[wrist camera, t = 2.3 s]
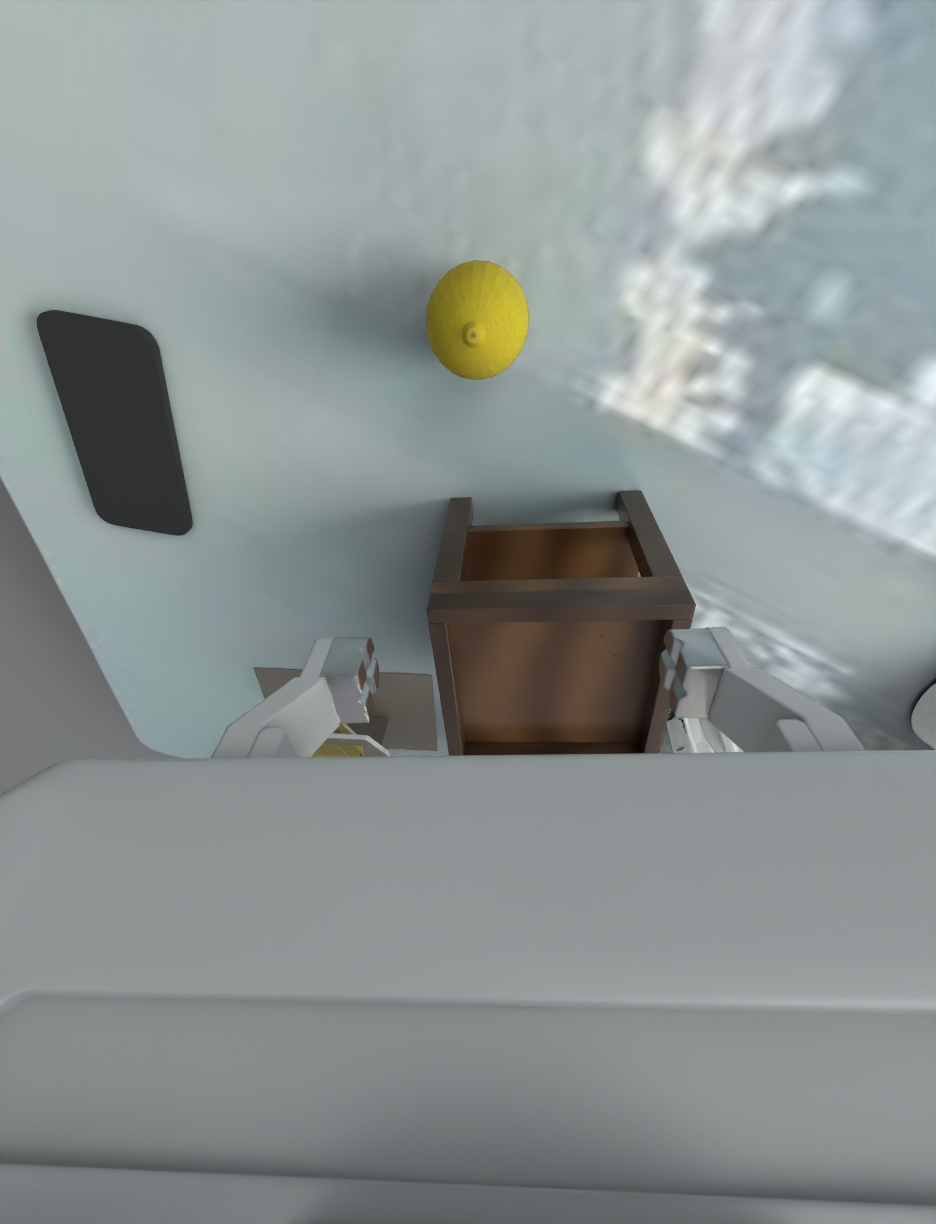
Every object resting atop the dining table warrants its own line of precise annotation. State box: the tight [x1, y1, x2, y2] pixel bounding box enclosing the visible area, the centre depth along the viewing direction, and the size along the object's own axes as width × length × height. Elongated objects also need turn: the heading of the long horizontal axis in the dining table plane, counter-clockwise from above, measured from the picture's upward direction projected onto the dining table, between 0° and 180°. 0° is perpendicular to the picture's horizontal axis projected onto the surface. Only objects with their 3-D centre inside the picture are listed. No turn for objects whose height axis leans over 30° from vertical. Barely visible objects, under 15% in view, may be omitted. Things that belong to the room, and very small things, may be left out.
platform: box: [254, 668, 438, 757], centre depth 52 cm, size 12×18×7 cm, turn 91°
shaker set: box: [667, 711, 744, 753], centre depth 45 cm, size 12×4×11 cm, turn 178°
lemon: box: [426, 261, 529, 380], centre depth 28 cm, size 6×6×8 cm
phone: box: [37, 310, 192, 535], centre depth 36 cm, size 7×1×15 cm
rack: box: [427, 491, 696, 756], centre depth 36 cm, size 14×14×14 cm
